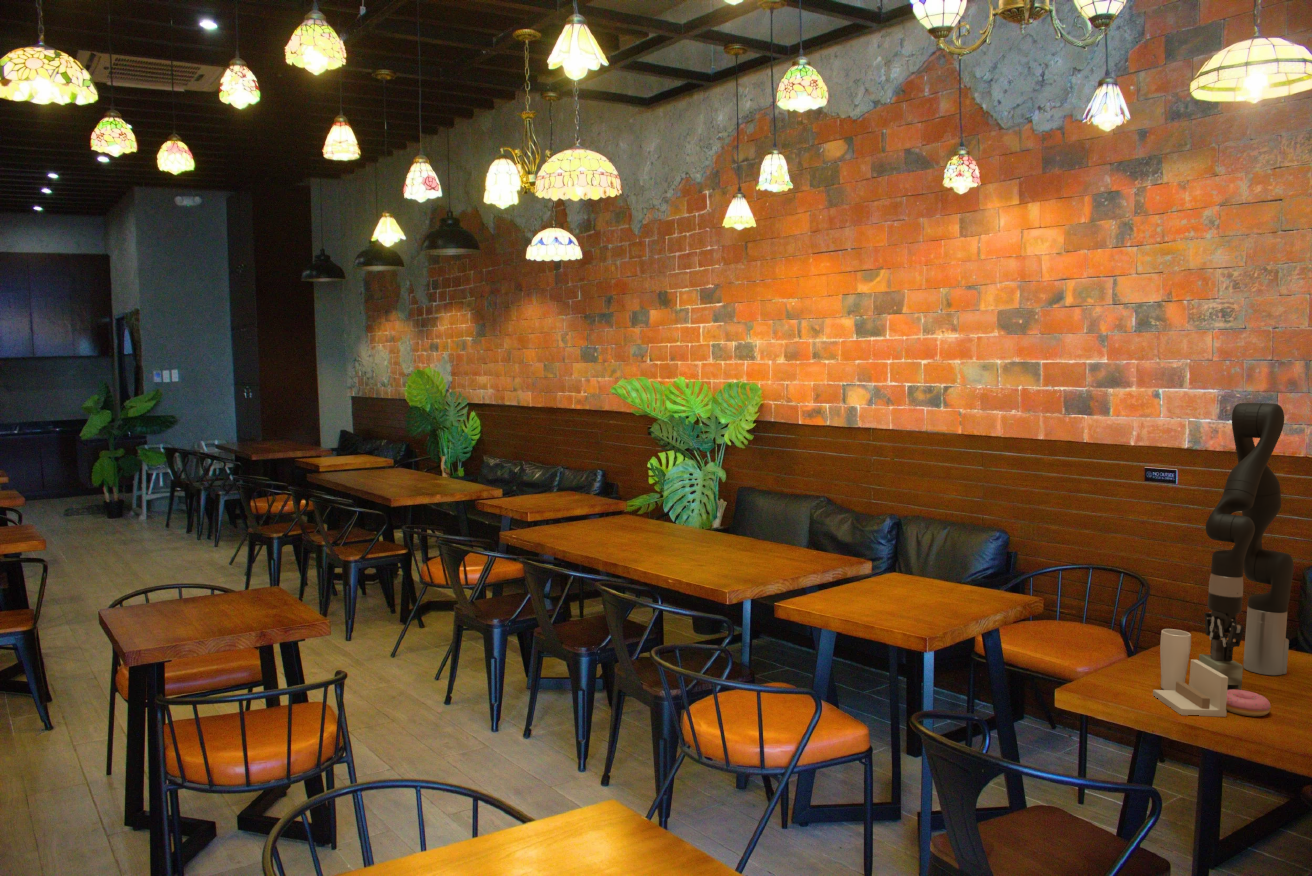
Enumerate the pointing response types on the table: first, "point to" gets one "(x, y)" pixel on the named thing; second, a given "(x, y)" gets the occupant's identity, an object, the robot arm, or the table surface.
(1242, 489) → the robot arm
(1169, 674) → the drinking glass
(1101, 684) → the table surface
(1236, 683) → the olive boxy piece
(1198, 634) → the table surface
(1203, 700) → the stand
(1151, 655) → the table surface
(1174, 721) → the table surface
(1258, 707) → the doughnut
